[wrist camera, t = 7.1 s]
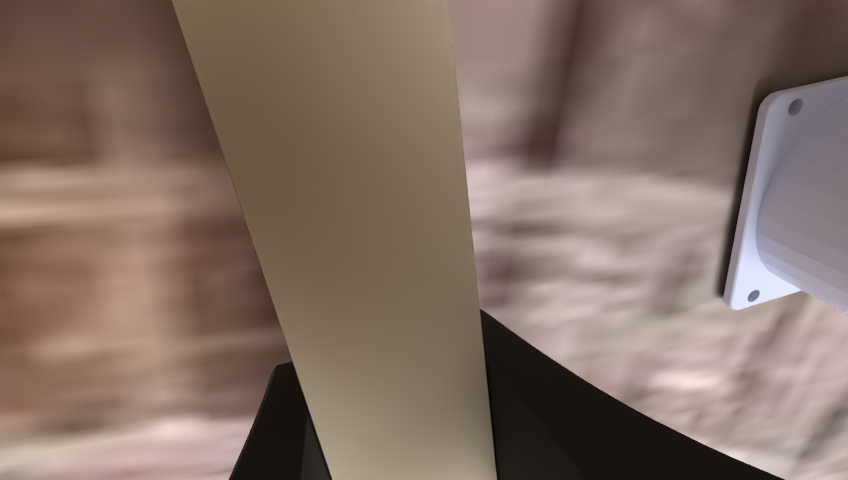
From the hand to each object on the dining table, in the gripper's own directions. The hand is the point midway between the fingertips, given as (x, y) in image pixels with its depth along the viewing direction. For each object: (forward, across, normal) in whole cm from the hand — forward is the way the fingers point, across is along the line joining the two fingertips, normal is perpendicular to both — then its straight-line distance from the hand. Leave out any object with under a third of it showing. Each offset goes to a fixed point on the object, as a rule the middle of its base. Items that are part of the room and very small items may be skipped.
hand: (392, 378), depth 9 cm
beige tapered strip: (+2, 0, 0) cm, 2 cm away
